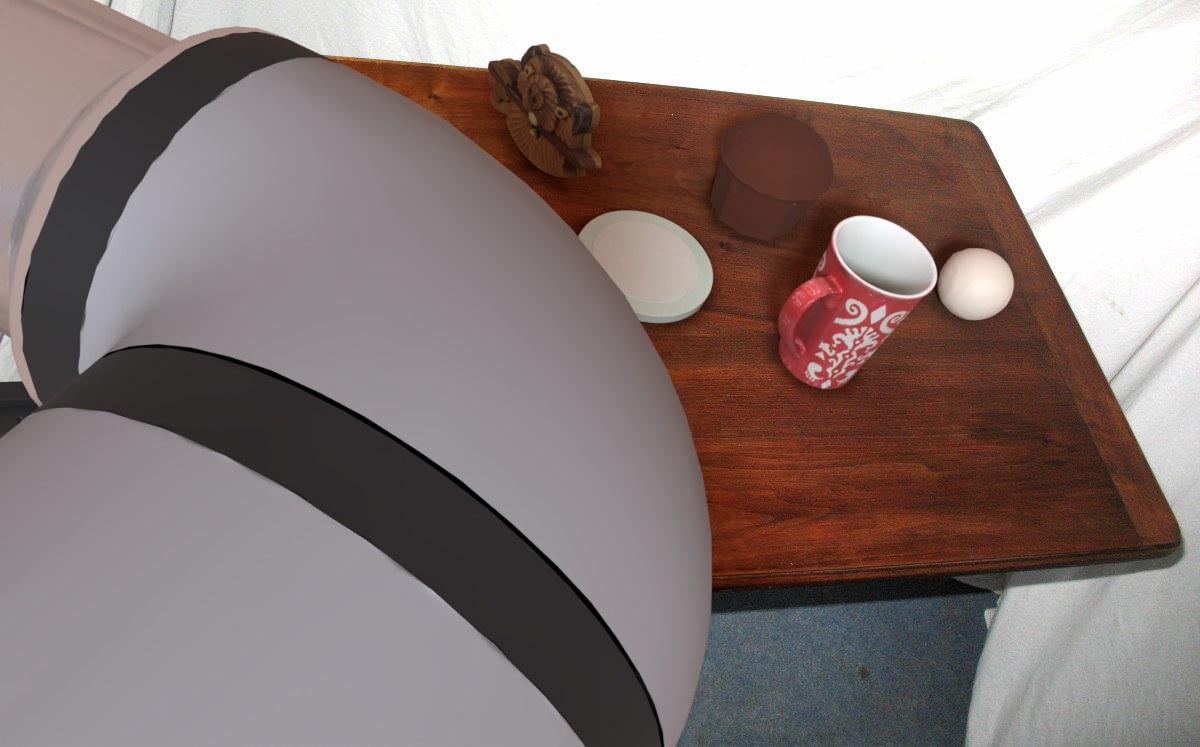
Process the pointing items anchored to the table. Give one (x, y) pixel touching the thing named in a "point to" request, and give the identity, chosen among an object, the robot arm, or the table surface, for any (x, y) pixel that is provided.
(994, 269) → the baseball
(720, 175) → the muffin
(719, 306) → the table surface
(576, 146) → the wooden carving
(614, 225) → the plate
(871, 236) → the mug
